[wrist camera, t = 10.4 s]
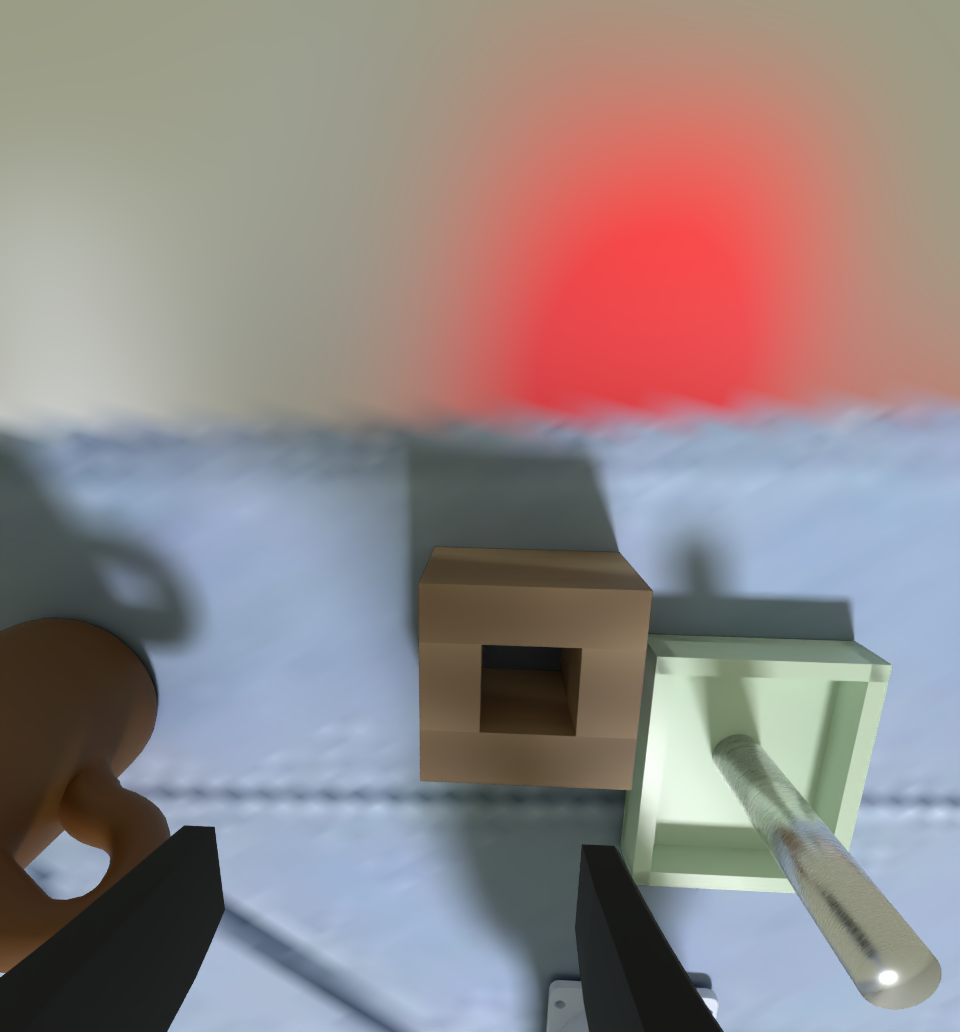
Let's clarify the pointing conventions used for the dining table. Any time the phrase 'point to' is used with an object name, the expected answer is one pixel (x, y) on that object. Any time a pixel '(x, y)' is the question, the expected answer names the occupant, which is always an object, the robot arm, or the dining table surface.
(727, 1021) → the dining table surface
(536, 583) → the walnut block
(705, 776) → the tray
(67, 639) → the mug
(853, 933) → the pin
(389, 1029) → the dining table surface
